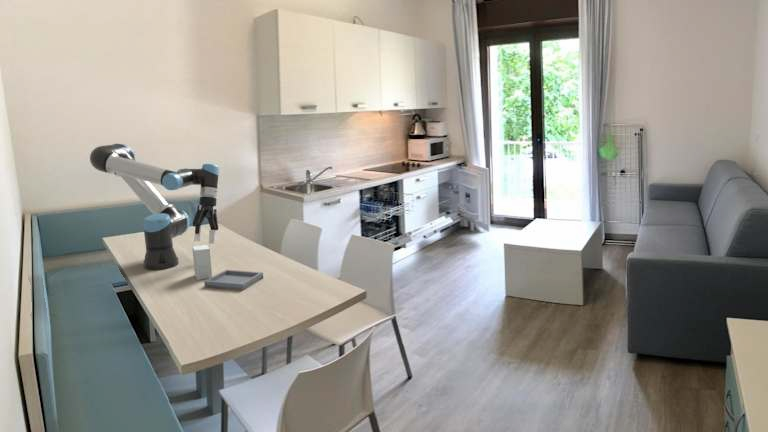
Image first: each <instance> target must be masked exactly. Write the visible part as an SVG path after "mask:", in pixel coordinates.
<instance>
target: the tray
mask: <svg viewBox="0 0 768 432" xmlns="http://www.w3.org/2000/svg"><path fill="white" fill-rule="evenodd" d="M263 279H264V272H261V271H249V270H248V271H247V270H234V269H225V270H223V271H221V272H219V273H217V274H214V275H212V277H211V278H206V279H204V288H205V287H206V288H213V289H224V290H225V289H226V290H236V291H245V290H247V289H248V288H250V287H251V286H254V284H256V283H258V282H259V281H261V280H263Z"/></svg>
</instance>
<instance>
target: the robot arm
mask: <svg viewBox="0 0 768 432" xmlns="http://www.w3.org/2000/svg"><path fill="white" fill-rule="evenodd" d="M135 155H136V154H135V152H134V150H133V149H132V148H131V147H130V146H129V145H127V144H124V143H113V144H109V145H108V144H106V145H99V146H97V147H95V148H94V149H93V150H92V151H91V153H90V154H89V161H90V165H91V166H92V167H93V168H94V169H95V170H97V171H100V172H103V173H107V174H111V175H113V174H114V175H115V176H116V177H119V178H121V179H122V180H123V181H124V183H126V184H127V185H128V187H129V188H130V189H131V190H132V191H133V192H134V193H135V195H136V196H137V197H138V199H140V201H141V202H142V204H143V205H145V206H146V209H148V210H149V211H150V212H151V213H152V214H150V215H148V216H146V217H144V219H143V222H142V223H143V226H142V228H143V234H144V244H145V256H144V259H143V267H145V268H144V269H146V268H147V269H146V270H151V269H153V270H156V271H157V270H164V269H169V268H173V267H175V266H178V265H179V257H178V256H177V253H176V251H175V248H174V245H173V239H174V238H176V237H178V236H181V235H183V234H185V233H186V232H187V231H188V229H189V228H190V225H191V223H190V222H191V221H190V217H189V214H188V213H187V212H185V211H184V210H180V209H178V208H177V207H176V206H175V205H174V204H169V203H168V202H167V200H166V199H165V198H164V197H163V196H162V195H161V193H160V192H159V191H158V190H157V189H156V187H154V185H159V186H162V187H163V188H165V189H166V190H168V191H177V190H179V189H182V188H185V187H188V186H189V187H190V186H192V185H193V186H197V185H198V186H200V191H199V196H200V197H199V201H198V202H199V203H198V204H199V205H197V210H196V213H195V216H194V218H193V221H192V227H194V242H201V241H202V224H203V222H204V221H205V220H206V219H207V221H208V224H209V228H210V230H209V233H208V234H209V235H208V244H210V245H215V243H216V242H215V241H216V232H217V231H218V230H219V223H218V222H219V221H218V216H217V208H214V207H216V206H217V200H218V199H217V196H218V184H219V182H218V181H219V176H220V174H219V170H220V168H219V165H216V164H212V163H204V164H202V166H201V168H185V167H184V168H179V169H178V170H177V171H173V170H169V169H166V168H163V167H159V166H155V165H151V164H147V163H144V162H140V161H137V160H136V157H135ZM153 184H154V185H153ZM153 270H152V271H153Z"/></svg>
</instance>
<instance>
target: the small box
mask: <svg viewBox="0 0 768 432" xmlns="http://www.w3.org/2000/svg"><path fill="white" fill-rule="evenodd" d="M192 257H193V269H194V275H195V278H196V280H197V281H199V280H207V279H209V278H211V277H213V272H212V261H211V250H210V248H209V246H208V244H202V245H201V244H200V245H194V246H192Z"/></svg>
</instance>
